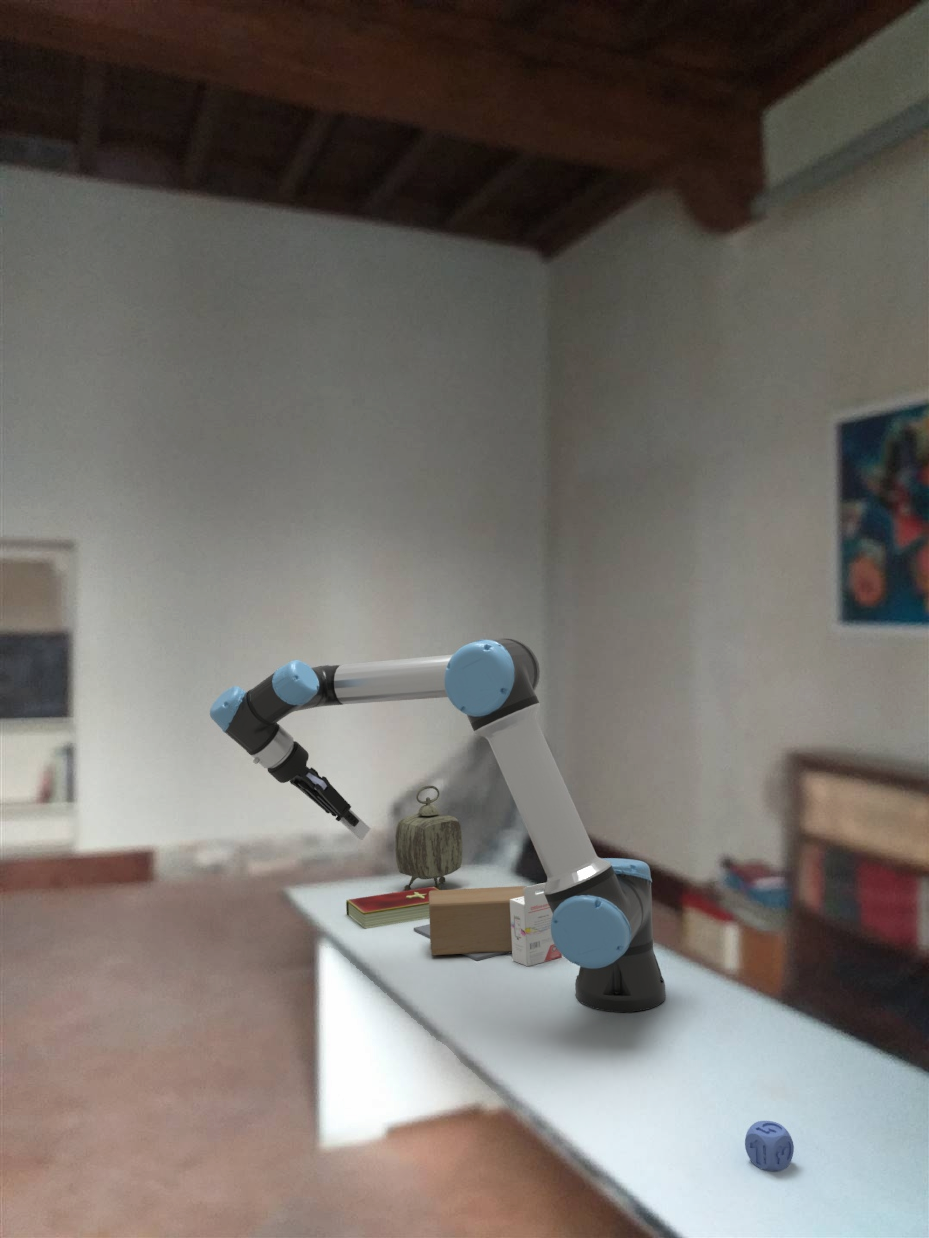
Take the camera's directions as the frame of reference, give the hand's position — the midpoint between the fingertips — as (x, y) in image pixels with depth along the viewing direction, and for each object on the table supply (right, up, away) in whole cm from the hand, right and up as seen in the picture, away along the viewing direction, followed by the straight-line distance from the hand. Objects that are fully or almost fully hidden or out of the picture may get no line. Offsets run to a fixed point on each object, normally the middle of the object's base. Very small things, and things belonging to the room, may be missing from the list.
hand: (364, 833), depth 196 cm
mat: (+23, -23, +12) cm, 35 cm away
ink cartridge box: (+33, -23, -3) cm, 41 cm away
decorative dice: (+55, -23, -77) cm, 97 cm away
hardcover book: (+5, -25, +29) cm, 39 cm away
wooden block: (+12, -18, +4) cm, 22 cm away
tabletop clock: (+12, -24, +49) cm, 55 cm away
